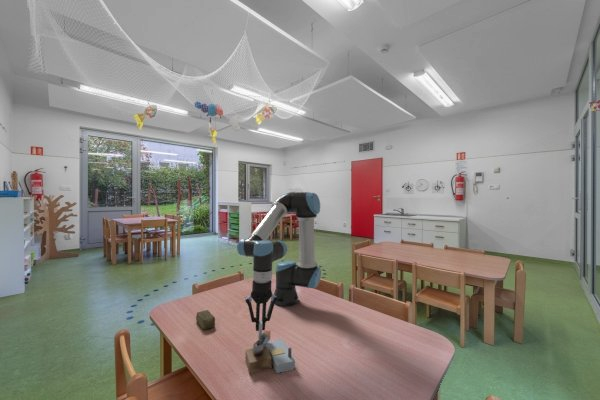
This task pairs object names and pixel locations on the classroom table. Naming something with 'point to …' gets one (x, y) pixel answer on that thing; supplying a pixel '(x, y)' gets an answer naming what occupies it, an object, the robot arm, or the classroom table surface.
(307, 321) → the classroom table surface
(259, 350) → the latch bar
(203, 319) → the stone block
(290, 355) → the grey block with peg
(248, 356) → the block
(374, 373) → the classroom table surface
